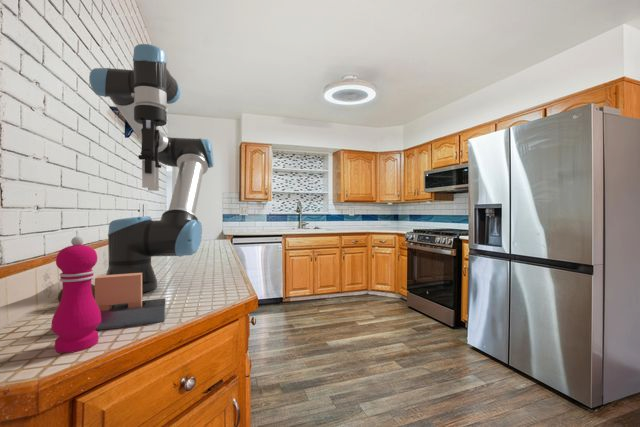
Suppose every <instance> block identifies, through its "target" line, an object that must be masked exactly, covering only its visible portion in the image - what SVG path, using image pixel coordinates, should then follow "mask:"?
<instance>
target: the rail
mask: <svg viewBox="0 0 640 427" xmlns="http://www.w3.org/2000/svg"><path fill="white" fill-rule="evenodd" d="M100 312H101V323H100V324H99V325H98V327H97V328H96V329H95V331H104V330H110V329H117V328H118V329H119V328H126V327H132V326H141V325H148V324H156V323H164V322H165V320H166V298H165V297H164V298H155V299H154V298H153V299H146V300H142V307H134V308H128V303H123V304H114V305H111V310H107V311H100Z"/></svg>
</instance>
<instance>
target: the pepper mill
mask: <svg viewBox="0 0 640 427" xmlns="http://www.w3.org/2000/svg"><path fill="white" fill-rule="evenodd" d="M70 242H71V245H68V246H65V247H63V248H62V249H61V250H59V252H58V253H57V255H56V258H55V265H56V267H57V268H58V269H59V270H60V271H61V273H59V277H60V278H59V282H61V283H62V288H63V293H62V298H61V301H60V303H59V304H58V306H57V308H56V310H55V312H54V314H53V316H52V320H51V327H50V328H51V332H52V333H53V334H55V335H56V336H57V337H56V339H54V351H55V352H57V353H61V354H65V353H67V354H68V353H69V354H70V353H75V352H80V351H83V350H86V349H89V348H91V347H93V346H96V344H98V342H99V332H98V330H96V331H95V329H96V328H97V327H98V325H99V324H100V323H101V312H100V309H99V307H98V305H97V303H96V301H95V299H94V297H93V294H92V289H91V284H92V281H93V280H92V279H95V275H94V273H95V270H93V268H94V267H95V265H96V264H97V262H98V254H97V252H96V250H95V249H94V248H93V247H91V246H90V245H86V244H85V245H84V239H83V238H82V237H81V236H74V237H73V238H71V241H70Z"/></svg>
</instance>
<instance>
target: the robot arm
mask: <svg viewBox="0 0 640 427" xmlns="http://www.w3.org/2000/svg"><path fill="white" fill-rule="evenodd" d="M132 62H133V63H132V64H133V66H132V67H133V69H124V68H123V69H122V68H121V69H120V68H110V67H103V68H102V67H99V68H98V67H96V68H93V69H91V71H90V74H89V85H90V87H91V90H92V91H93V92H94V94H95V95H97V96H99V97H104V98H109V99H110V100H111V101H112V102H113V104H114V105H115V107H116V109H117V110H118V111H119V112H120V114H121V115H122V116H123V117H124V119H125V120H126V122H127V123H128V125H129V126H130V128H131V129H132V130H133V131H134V133H135V134H136V136H137V137H138V138H139V140H140V143H141V152H140V154H138V160H141V169H142V170H141V173H142V174H141V177H142V178H141V181H142V182H141V186H142V187H141V188H144V189H145V188H147V191H150V192H151V191H152V192H153V191H158V192H159V191H160V184H159V183H160V172H159V170H160V169H162V165H166V166H168V167H172V168H178V172H177V177H176V180H175V184H174V188H173V191H172V196H171V198H170V199H171V200H170V203H169V205H168V206H169V207H168V210H165V211H164V212H163V213H162V214H161V218H160V220H159V219H157V220H153V219H152V217H151V216H150V215H149V216H148V215H147V216H136V217H135V216H134V217H126V218H119V219H115V220H112V221H111V222H110V223H109V224H108V233H107V236H108V237H107V238H108V240H107V245H108V251H107V252H108V256H107V257H108V269H107V271H106V274H105V275H116V274H130V273H142V294H143V293H147V291H148V292H151V291H154V290H156V289H158V280H157V277H156V273H155V271H154V268H153V265H152V257H184V256H193V255H194V254H196V253H197V252H198V250H199V247H200V246H201V243H202V234H203V228H202V227H203V225H202V222H201V221H200V220H199V218H198V217H197V216H196V212H197V205H198V199H199V195H200V190H201V184H202V179H203V175H205V174H206V173H207V171H208V170H209V169H210V168H211V169H212V168H213V167H214V165H215V164H214V162H215V161H214V152H213V147H212V144H211V141H210V140H209V139H206V138H201V137H199V138H188V137H170V136H167V135H166V133H164V132H162V130H161V129H160V127H164V126H165V125H167V124H168V123H167V121H168V120H167V118H168V117H167V116H168V115H167V113H168V112H167V108H168V105H171V104H175V103H176V102H177V101H178V100H179V99H180V97H181V88H180V86H179V84H178V81H177V80H176V79H175V78H174V77H173V76H172V74H171V73H170V71H169V70H168V68H167V63H168V61H167V55H166V52H165V51H164V50H163V49H162V48H160V47H159V46H156V45H153V44H148V43H140V44H136V45H135V46H134V48H133V56H132ZM160 163H161V164H160ZM155 288H156V289H155ZM153 289H154V290H153Z"/></svg>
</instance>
